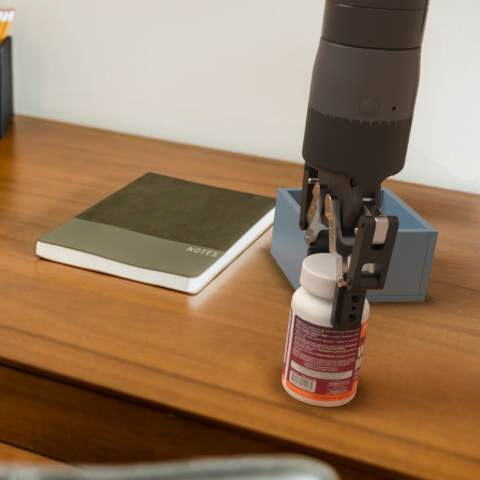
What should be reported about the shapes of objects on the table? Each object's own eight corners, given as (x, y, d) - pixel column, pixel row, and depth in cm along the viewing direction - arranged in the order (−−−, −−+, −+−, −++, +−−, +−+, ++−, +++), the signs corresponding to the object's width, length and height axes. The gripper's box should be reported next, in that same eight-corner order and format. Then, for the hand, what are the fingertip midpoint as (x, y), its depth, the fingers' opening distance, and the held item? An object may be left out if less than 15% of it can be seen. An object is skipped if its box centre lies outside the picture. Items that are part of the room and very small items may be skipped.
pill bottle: (366, 408, 73) (389, 282, 68) (293, 411, 72) (311, 283, 67) (339, 368, 78) (359, 249, 74) (271, 370, 77) (286, 250, 73)
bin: (376, 252, 102) (387, 187, 99) (424, 302, 91) (438, 231, 88) (269, 253, 101) (277, 187, 98) (304, 304, 89) (314, 232, 86)
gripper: (455, 131, 59) (411, 352, 66) (372, 80, 72) (343, 269, 79) (346, 130, 58) (313, 355, 65) (282, 79, 71) (260, 270, 78)
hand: (329, 307), depth 72 cm, fingers closed on pill bottle, 6 cm apart
